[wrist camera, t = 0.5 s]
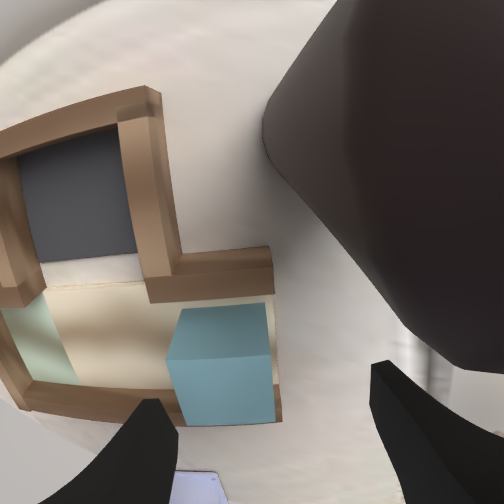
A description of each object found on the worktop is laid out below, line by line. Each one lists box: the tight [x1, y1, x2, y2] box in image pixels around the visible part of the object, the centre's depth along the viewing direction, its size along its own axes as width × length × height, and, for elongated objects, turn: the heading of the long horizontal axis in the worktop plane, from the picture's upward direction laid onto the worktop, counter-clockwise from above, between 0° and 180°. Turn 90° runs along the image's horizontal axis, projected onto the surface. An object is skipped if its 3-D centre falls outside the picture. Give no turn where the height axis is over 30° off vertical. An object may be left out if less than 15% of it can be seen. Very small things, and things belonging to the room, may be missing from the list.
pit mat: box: [17, 128, 138, 263], centre depth 17 cm, size 8×9×1 cm
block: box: [165, 302, 276, 426], centre depth 18 cm, size 5×5×5 cm
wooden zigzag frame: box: [0, 85, 282, 427], centre depth 18 cm, size 21×22×3 cm
